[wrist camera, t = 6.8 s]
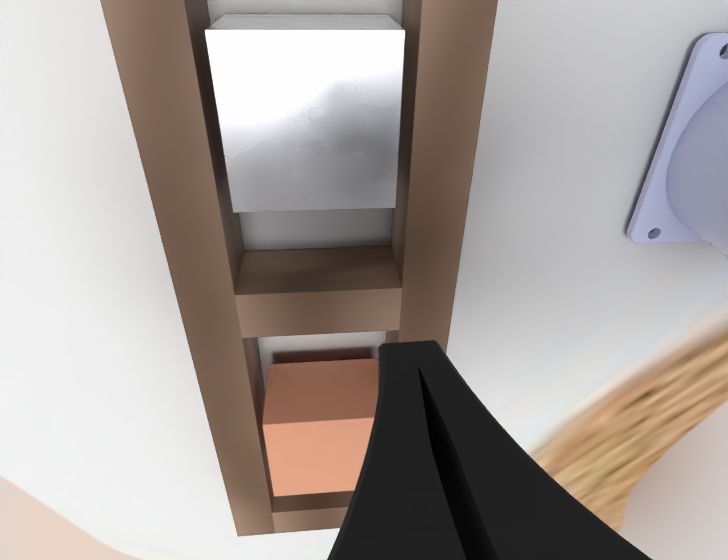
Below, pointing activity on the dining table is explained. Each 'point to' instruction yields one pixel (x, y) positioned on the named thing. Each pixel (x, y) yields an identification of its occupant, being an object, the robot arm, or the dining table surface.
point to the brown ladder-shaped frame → (302, 266)
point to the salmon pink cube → (318, 424)
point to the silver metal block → (308, 109)
